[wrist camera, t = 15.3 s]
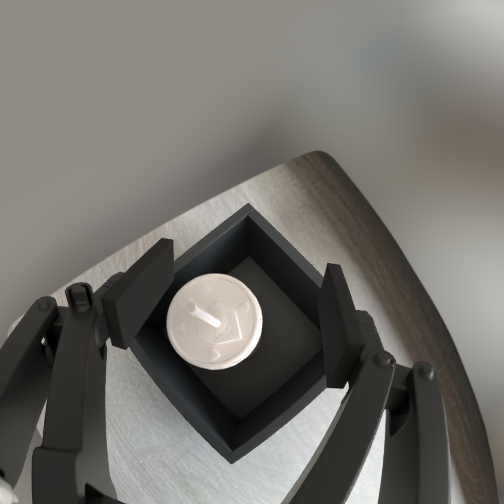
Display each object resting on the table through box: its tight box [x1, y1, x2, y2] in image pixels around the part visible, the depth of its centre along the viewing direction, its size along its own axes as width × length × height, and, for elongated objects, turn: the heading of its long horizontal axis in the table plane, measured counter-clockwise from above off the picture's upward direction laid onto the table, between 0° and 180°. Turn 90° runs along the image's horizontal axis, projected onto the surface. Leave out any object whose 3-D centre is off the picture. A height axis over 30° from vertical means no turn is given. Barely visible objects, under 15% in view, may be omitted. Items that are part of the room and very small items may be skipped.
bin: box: [129, 203, 327, 464], centre depth 22 cm, size 14×14×10 cm
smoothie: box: [167, 274, 262, 370], centre depth 19 cm, size 6×6×14 cm
